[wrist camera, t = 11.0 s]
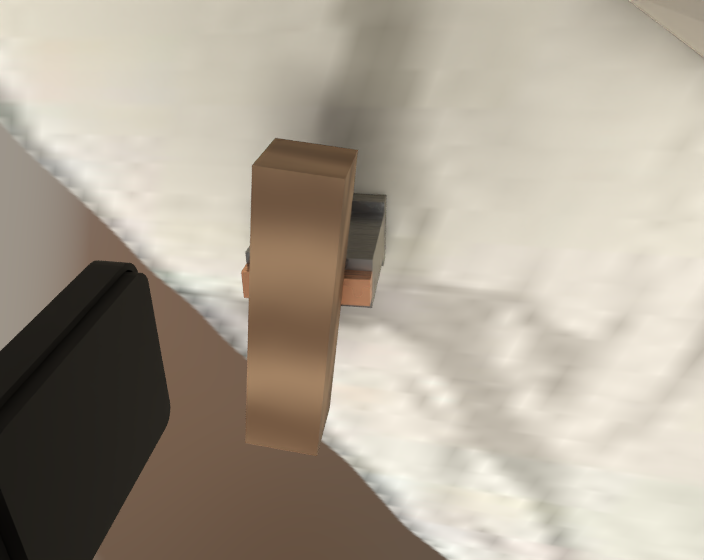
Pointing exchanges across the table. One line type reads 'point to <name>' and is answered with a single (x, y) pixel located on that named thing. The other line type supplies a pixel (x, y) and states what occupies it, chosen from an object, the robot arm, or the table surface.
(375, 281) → the ridge stand
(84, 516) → the robot arm
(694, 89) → the table surface
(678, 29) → the milk carton
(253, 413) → the walnut rod
